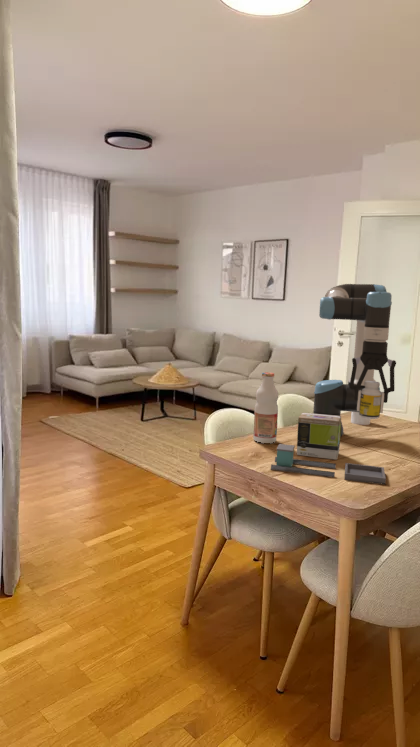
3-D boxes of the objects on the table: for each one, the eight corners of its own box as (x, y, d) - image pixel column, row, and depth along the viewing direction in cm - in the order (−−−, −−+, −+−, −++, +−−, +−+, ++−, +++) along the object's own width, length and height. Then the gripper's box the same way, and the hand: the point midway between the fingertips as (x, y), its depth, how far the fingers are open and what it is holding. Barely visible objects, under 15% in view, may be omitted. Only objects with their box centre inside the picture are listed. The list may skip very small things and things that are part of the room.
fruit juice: (248, 438, 207) (252, 371, 203) (268, 436, 212) (271, 371, 207) (261, 445, 199) (264, 375, 195) (280, 442, 203) (284, 374, 199)
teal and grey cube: (278, 461, 178) (279, 443, 177) (293, 463, 177) (294, 445, 176) (275, 467, 172) (276, 448, 171) (291, 469, 171) (292, 450, 170)
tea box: (339, 453, 192) (342, 415, 190) (337, 460, 183) (340, 421, 181) (299, 448, 197) (302, 411, 195) (295, 455, 188) (298, 416, 185)
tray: (345, 468, 175) (345, 462, 174) (383, 472, 171) (383, 467, 171) (344, 479, 164) (344, 473, 163) (385, 484, 160) (385, 478, 160)
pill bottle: (355, 414, 167) (358, 380, 166) (374, 414, 168) (377, 380, 166) (363, 419, 161) (366, 383, 159) (382, 419, 161) (386, 383, 160)
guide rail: (275, 460, 180) (275, 456, 180) (335, 467, 175) (335, 463, 175) (270, 469, 171) (271, 465, 171) (334, 477, 165) (334, 473, 165)
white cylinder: (351, 424, 239) (353, 399, 237) (349, 419, 248) (351, 395, 246) (371, 425, 238) (373, 400, 236) (368, 421, 246) (370, 397, 245)
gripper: (343, 339, 160) (338, 410, 163) (409, 343, 155) (402, 416, 158) (344, 338, 167) (339, 406, 170) (406, 341, 162) (400, 411, 165)
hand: (369, 411), depth 164 cm, fingers closed on pill bottle, 6 cm apart
